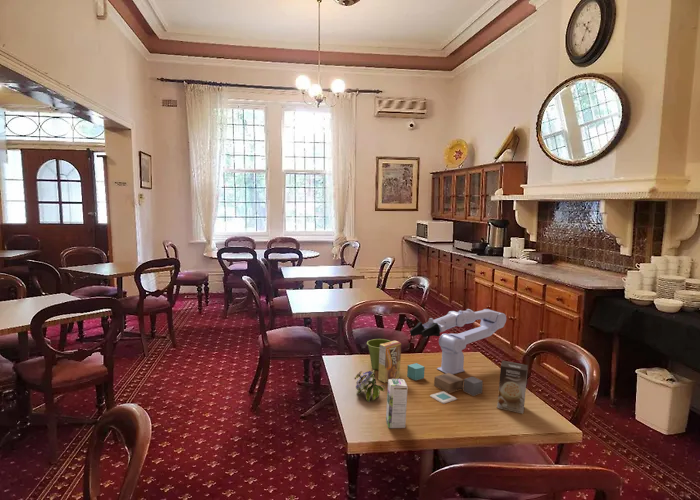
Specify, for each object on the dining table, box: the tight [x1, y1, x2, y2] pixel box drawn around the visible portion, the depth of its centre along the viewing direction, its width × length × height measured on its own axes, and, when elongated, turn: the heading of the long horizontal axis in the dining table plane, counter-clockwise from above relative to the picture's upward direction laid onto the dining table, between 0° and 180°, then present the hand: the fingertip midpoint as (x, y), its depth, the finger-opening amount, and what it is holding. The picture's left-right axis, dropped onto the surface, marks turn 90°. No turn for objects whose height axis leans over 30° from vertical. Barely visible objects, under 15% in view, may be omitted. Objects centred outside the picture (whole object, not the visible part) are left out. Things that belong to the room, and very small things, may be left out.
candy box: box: [377, 340, 402, 383], centre depth 180 cm, size 9×4×15 cm, turn 129°
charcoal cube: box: [462, 376, 484, 397], centre depth 171 cm, size 5×5×5 cm
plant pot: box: [366, 338, 392, 371], centre depth 192 cm, size 12×12×11 cm
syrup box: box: [385, 378, 409, 429], centre depth 144 cm, size 6×6×14 cm
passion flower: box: [354, 369, 386, 403], centre depth 165 cm, size 11×11×12 cm
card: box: [429, 390, 458, 405], centre depth 165 cm, size 7×7×1 cm
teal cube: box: [406, 362, 426, 381], centre depth 183 cm, size 5×5×5 cm
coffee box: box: [496, 359, 529, 414], centre depth 158 cm, size 9×6×16 cm
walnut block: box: [433, 373, 464, 394], centre depth 175 cm, size 8×8×4 cm
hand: (416, 333), depth 179 cm, fingers open, 7 cm apart
